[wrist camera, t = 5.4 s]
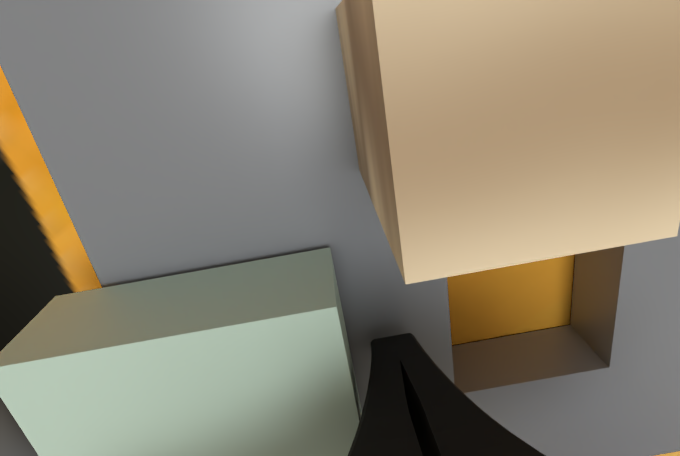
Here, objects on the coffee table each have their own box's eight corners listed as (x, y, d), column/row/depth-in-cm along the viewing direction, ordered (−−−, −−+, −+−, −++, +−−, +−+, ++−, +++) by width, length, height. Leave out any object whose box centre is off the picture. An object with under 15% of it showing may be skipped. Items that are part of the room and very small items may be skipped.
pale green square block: (367, 441, 15) (380, 528, 13) (150, 480, 15) (116, 574, 13) (329, 247, 12) (336, 306, 9) (55, 296, 12) (-18, 370, 9)
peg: (503, 144, 12) (677, 236, 6) (359, 170, 12) (405, 284, 6) (502, -22, 10) (736, -98, 5) (335, 8, 10) (368, -32, 5)
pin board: (739, 385, 20) (796, 430, 17) (225, 475, 20) (215, 533, 17) (901, -172, 12) (1048, -225, 9) (26, -15, 12) (-43, -29, 9)
